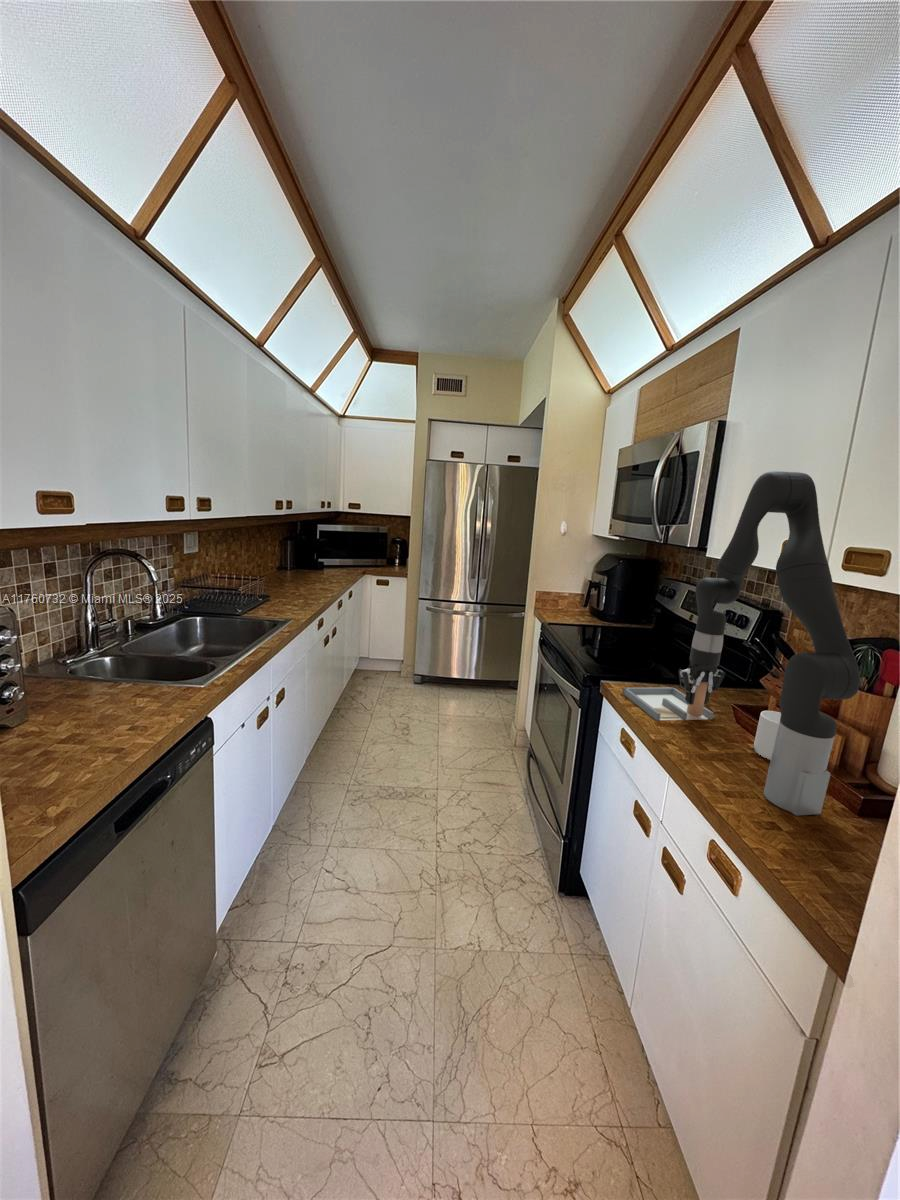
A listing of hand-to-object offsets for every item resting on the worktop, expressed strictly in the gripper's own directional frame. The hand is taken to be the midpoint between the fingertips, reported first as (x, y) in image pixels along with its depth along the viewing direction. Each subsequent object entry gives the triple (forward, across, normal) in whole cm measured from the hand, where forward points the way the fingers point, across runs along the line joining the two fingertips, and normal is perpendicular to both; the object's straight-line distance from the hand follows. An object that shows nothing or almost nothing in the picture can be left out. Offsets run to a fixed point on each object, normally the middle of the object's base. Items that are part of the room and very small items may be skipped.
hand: (696, 703), depth 136 cm
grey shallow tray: (+5, -4, +8) cm, 10 cm away
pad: (+4, -8, +2) cm, 10 cm away
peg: (+3, 0, 0) cm, 3 cm away
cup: (+6, +9, -18) cm, 21 cm away
